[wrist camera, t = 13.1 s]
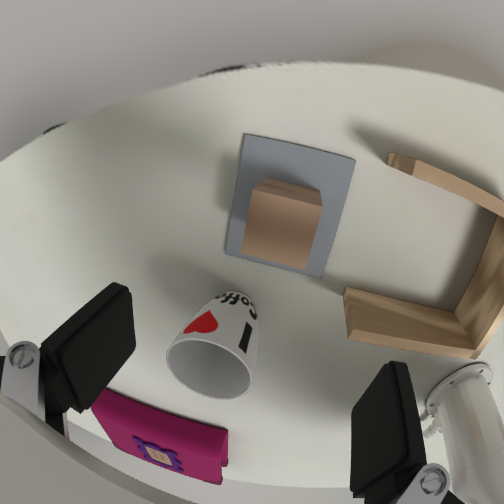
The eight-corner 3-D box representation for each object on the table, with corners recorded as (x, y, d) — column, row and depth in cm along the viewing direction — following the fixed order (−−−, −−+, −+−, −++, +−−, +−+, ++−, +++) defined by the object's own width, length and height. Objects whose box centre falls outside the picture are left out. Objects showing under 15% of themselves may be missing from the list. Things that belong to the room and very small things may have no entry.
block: (306, 240, 26) (304, 269, 21) (255, 227, 27) (240, 253, 21) (320, 190, 24) (322, 207, 19) (265, 177, 25) (252, 189, 19)
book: (104, 383, 48) (86, 407, 42) (229, 426, 44) (218, 459, 37) (127, 429, 57) (115, 449, 50) (228, 463, 53) (220, 487, 46)
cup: (279, 294, 30) (264, 360, 21) (258, 344, 33) (239, 408, 24) (209, 269, 30) (169, 324, 21) (197, 322, 34) (163, 379, 25)
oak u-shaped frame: (455, 321, 27) (476, 359, 20) (342, 296, 28) (348, 339, 22) (507, 206, 20) (544, 227, 14) (389, 152, 22) (416, 159, 16)
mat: (320, 275, 28) (321, 278, 27) (226, 251, 29) (225, 254, 28) (354, 160, 23) (355, 160, 22) (246, 134, 24) (245, 134, 23)
